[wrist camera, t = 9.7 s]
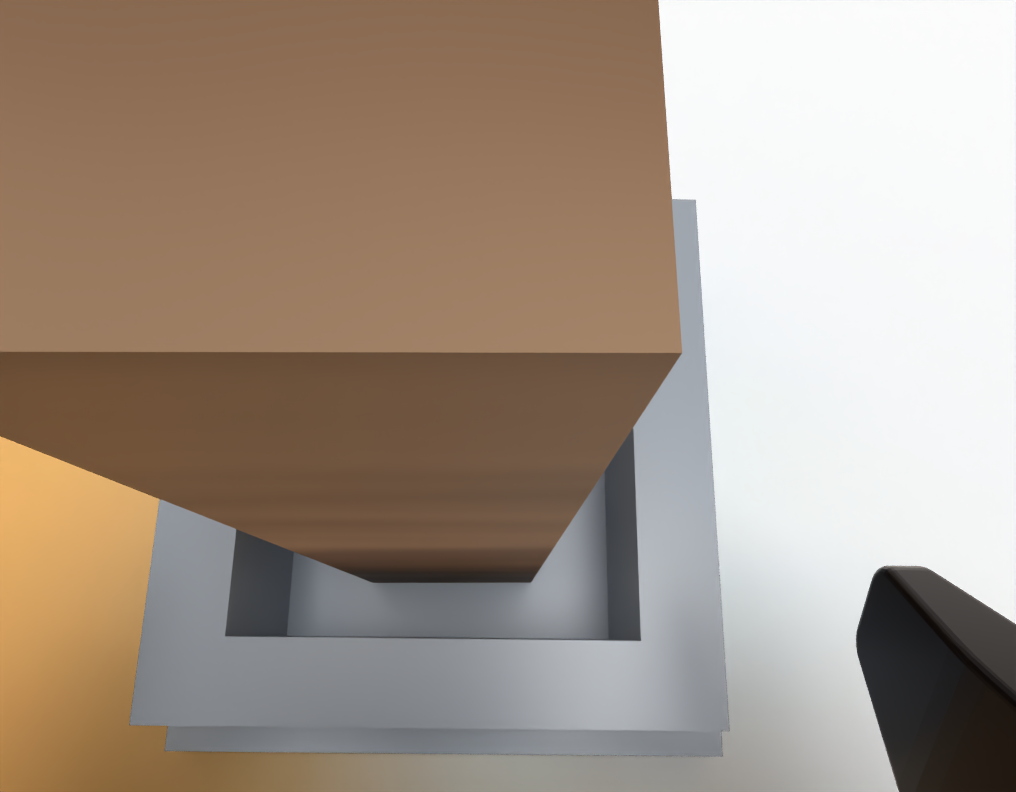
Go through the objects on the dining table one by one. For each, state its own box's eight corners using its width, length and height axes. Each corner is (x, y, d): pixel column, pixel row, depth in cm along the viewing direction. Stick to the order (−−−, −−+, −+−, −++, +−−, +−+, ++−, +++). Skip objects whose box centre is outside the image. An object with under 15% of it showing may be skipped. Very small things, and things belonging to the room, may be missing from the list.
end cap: (708, 748, 15) (791, 794, 11) (185, 743, 15) (61, 787, 11) (681, 272, 18) (739, 159, 14) (241, 265, 18) (159, 150, 14)
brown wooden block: (531, 582, 15) (682, 351, 3) (373, 583, 15) (-215, 351, 3) (529, 382, 16) (628, -433, 4) (381, 381, 16) (0, -441, 4)
